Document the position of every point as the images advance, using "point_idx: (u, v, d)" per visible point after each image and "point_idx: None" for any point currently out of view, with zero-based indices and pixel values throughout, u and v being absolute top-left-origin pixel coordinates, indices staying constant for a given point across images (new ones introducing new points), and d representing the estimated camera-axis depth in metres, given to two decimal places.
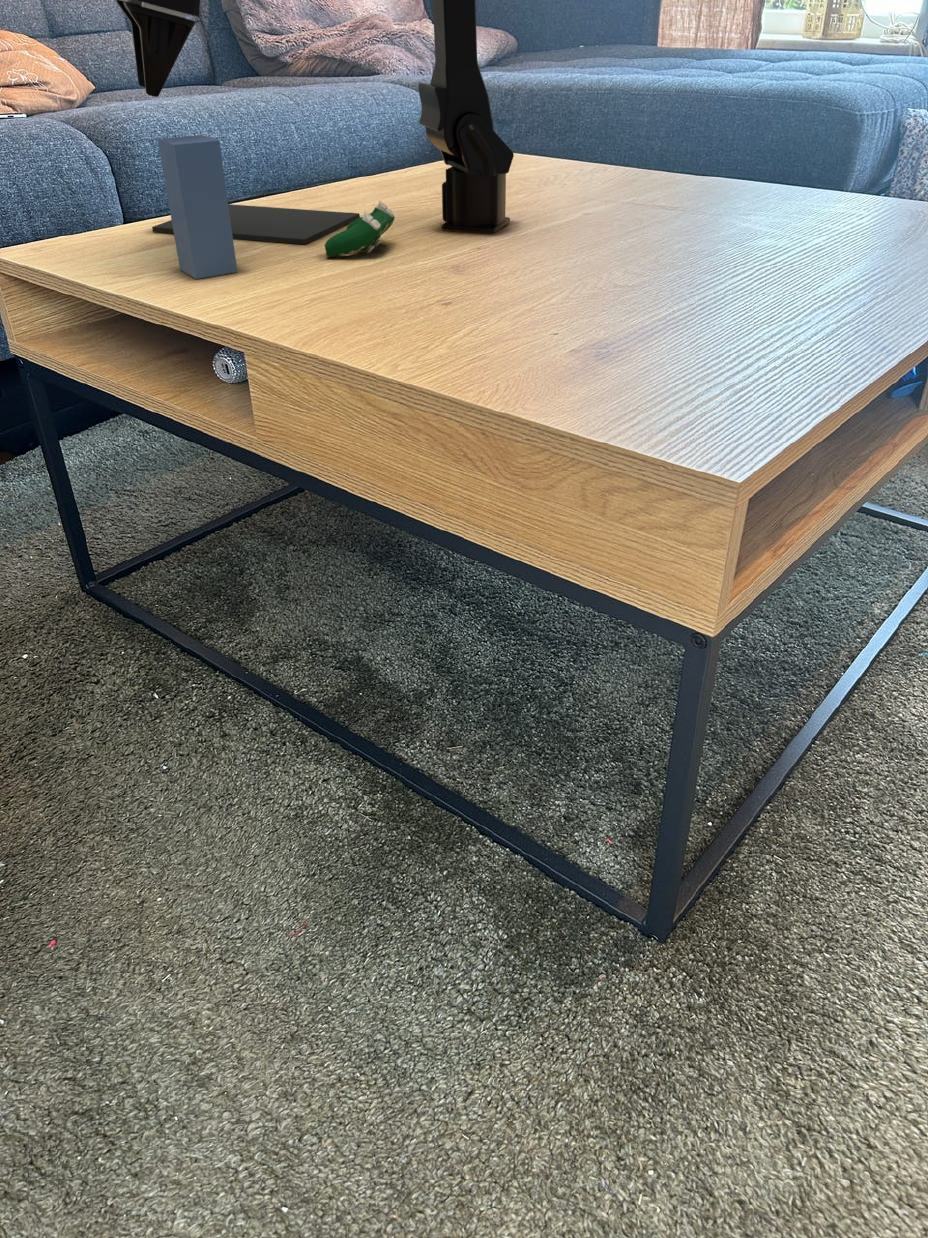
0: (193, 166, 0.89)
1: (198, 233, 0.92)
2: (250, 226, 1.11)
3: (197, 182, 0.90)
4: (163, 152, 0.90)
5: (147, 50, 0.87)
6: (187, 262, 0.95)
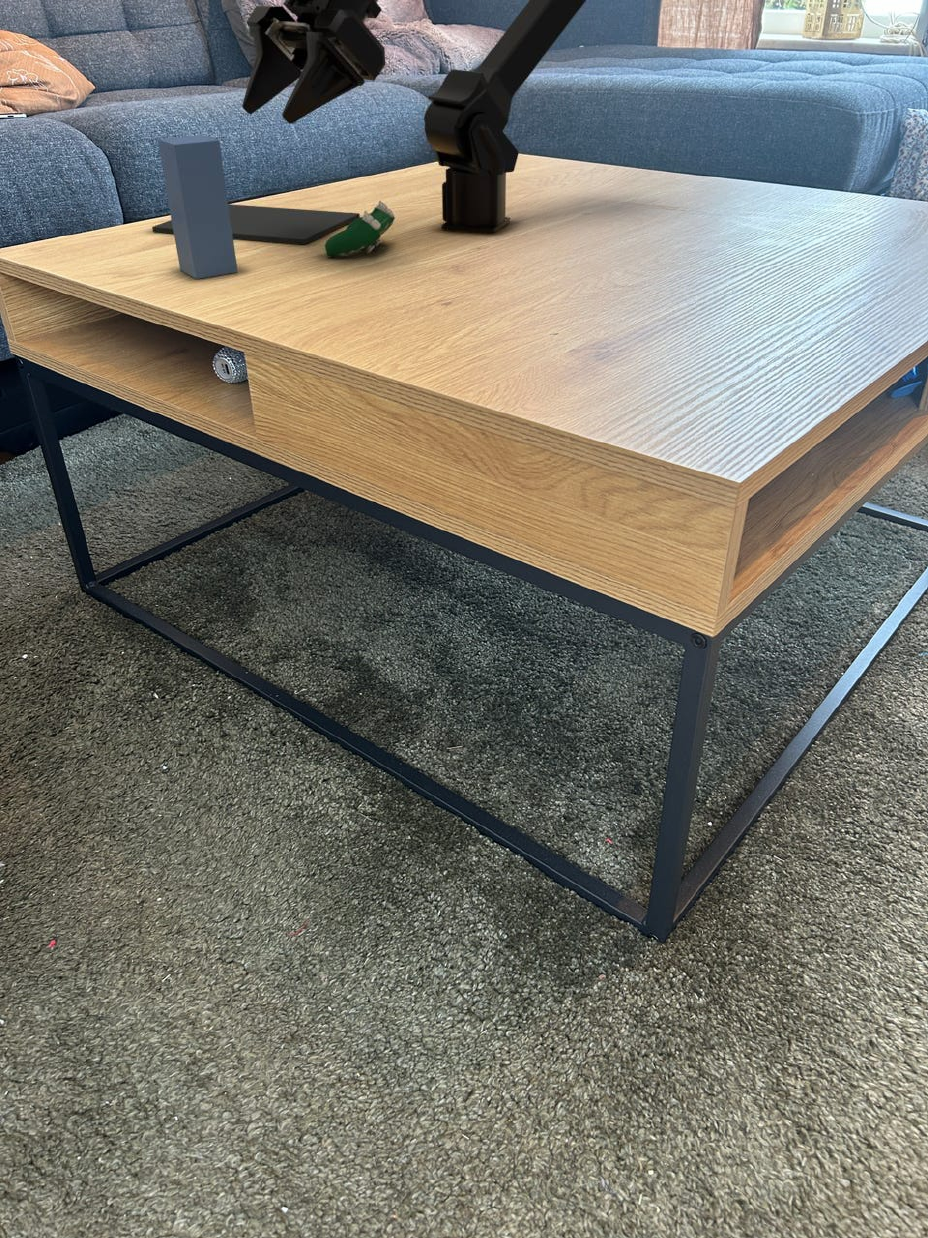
0: (193, 166, 0.89)
1: (198, 233, 0.92)
2: (250, 226, 1.11)
3: (197, 182, 0.90)
4: (163, 152, 0.90)
5: (308, 81, 0.88)
6: (187, 262, 0.95)
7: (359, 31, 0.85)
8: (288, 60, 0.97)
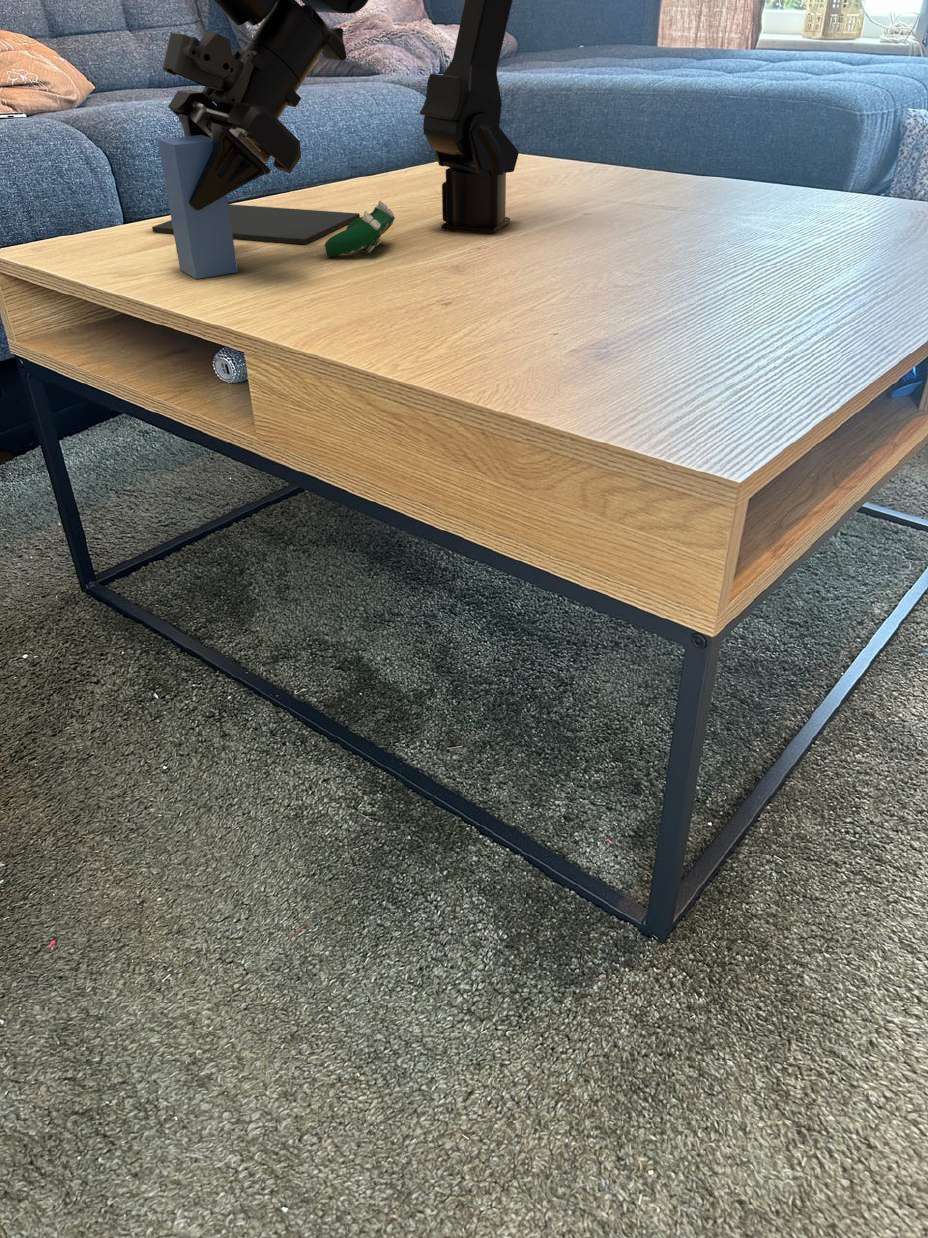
0: (193, 166, 0.89)
1: (198, 233, 0.92)
2: (250, 226, 1.11)
3: None
4: (163, 152, 0.90)
5: (213, 170, 0.89)
6: (187, 262, 0.95)
7: (272, 127, 0.85)
8: None
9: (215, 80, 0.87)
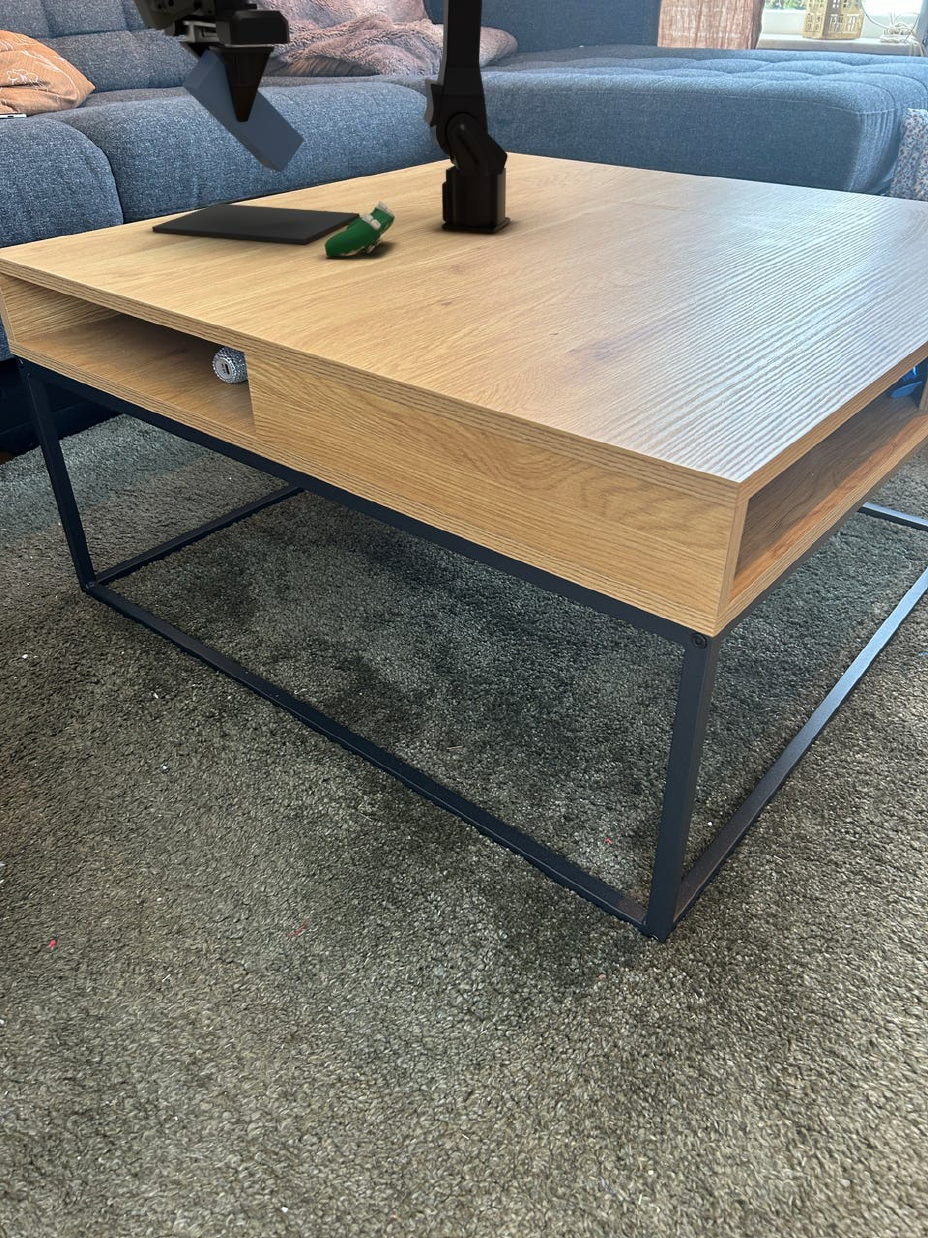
0: (221, 91, 0.99)
1: (259, 137, 1.03)
2: (250, 226, 1.11)
3: (231, 100, 0.99)
4: (193, 93, 1.00)
5: (236, 83, 0.98)
6: (266, 162, 1.06)
7: (253, 23, 0.91)
8: (223, 44, 1.01)
9: (187, 8, 0.93)
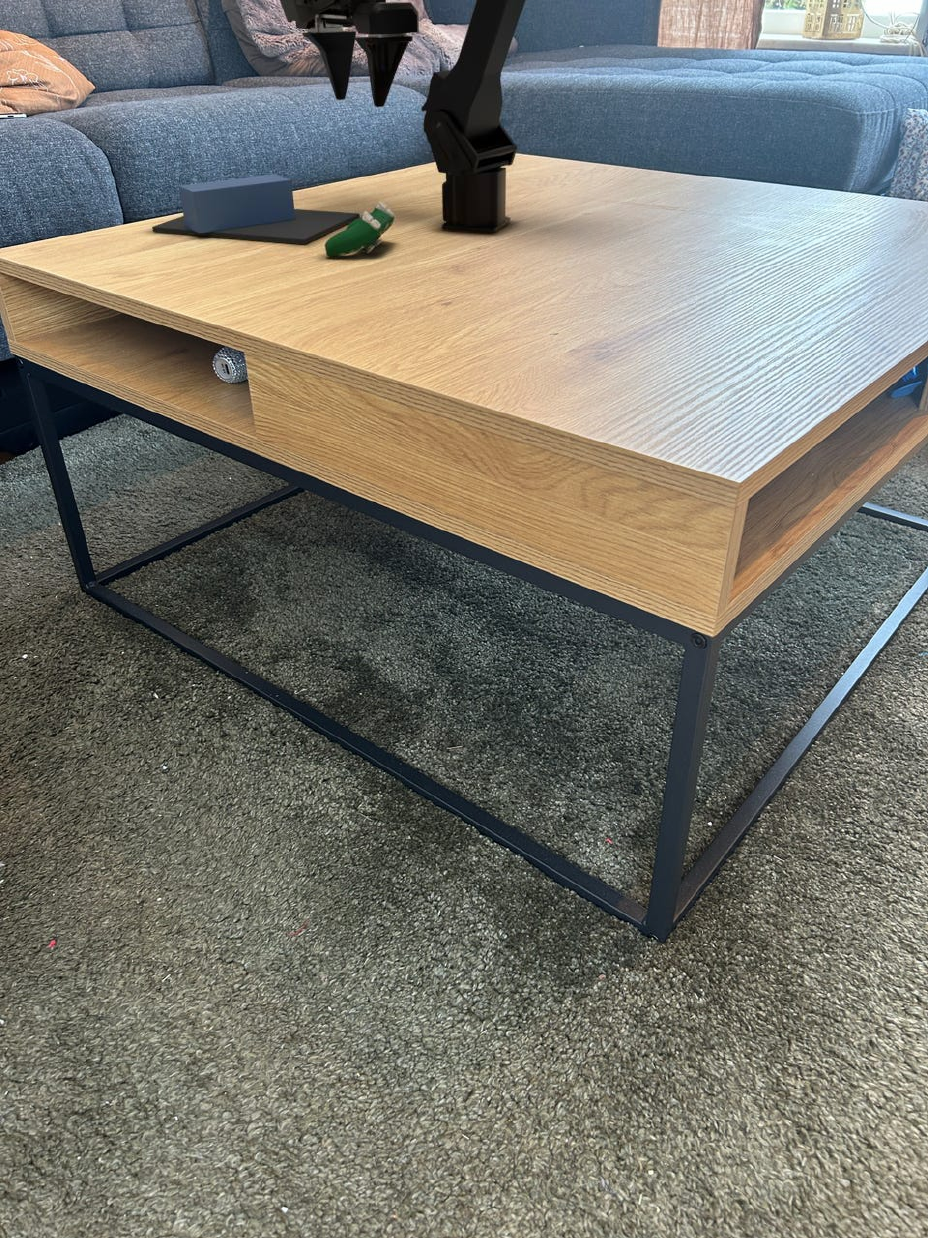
0: (214, 216, 1.08)
1: (262, 215, 1.11)
2: (250, 226, 1.11)
3: (225, 214, 1.09)
4: None
5: (377, 71, 1.07)
6: None
7: (390, 14, 1.01)
8: (341, 34, 1.13)
9: None
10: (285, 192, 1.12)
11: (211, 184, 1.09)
